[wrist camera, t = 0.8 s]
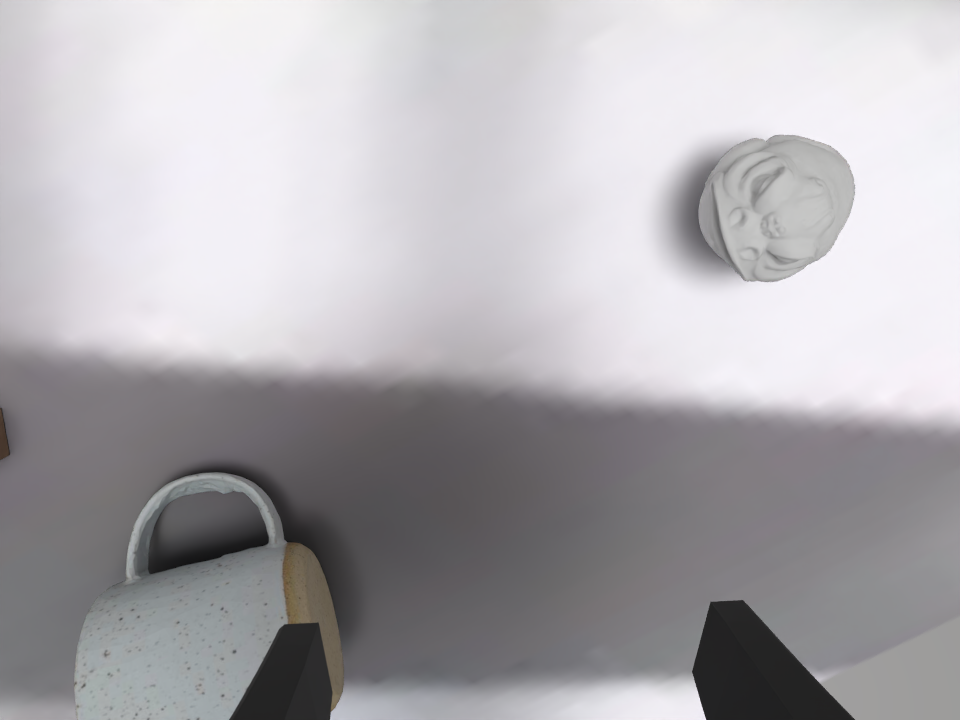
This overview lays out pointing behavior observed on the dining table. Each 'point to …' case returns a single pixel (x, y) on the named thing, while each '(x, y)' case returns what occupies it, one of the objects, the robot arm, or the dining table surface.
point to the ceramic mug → (198, 621)
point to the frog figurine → (776, 205)
